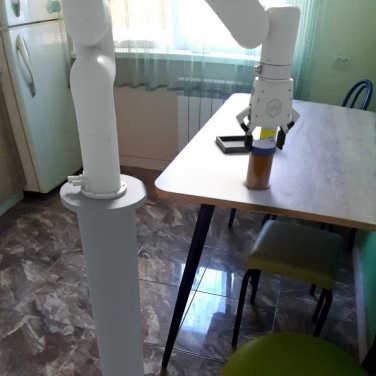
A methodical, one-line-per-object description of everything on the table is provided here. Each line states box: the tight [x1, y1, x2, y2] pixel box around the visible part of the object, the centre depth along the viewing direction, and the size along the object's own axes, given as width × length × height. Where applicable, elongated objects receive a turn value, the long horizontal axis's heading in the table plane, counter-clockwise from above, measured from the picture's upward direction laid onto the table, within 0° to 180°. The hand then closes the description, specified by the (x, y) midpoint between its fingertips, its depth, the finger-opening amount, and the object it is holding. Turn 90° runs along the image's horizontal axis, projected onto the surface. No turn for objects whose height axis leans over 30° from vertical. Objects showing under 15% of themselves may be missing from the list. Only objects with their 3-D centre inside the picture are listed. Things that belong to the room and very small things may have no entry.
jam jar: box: [245, 152, 275, 191], centre depth 111 cm, size 6×6×11 cm
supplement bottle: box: [259, 126, 279, 143], centre depth 139 cm, size 6×6×10 cm
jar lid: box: [251, 139, 277, 156], centre depth 108 cm, size 7×7×2 cm
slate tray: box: [215, 134, 256, 154], centre depth 137 cm, size 12×11×2 cm
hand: (263, 148), depth 108 cm, fingers open, 8 cm apart
